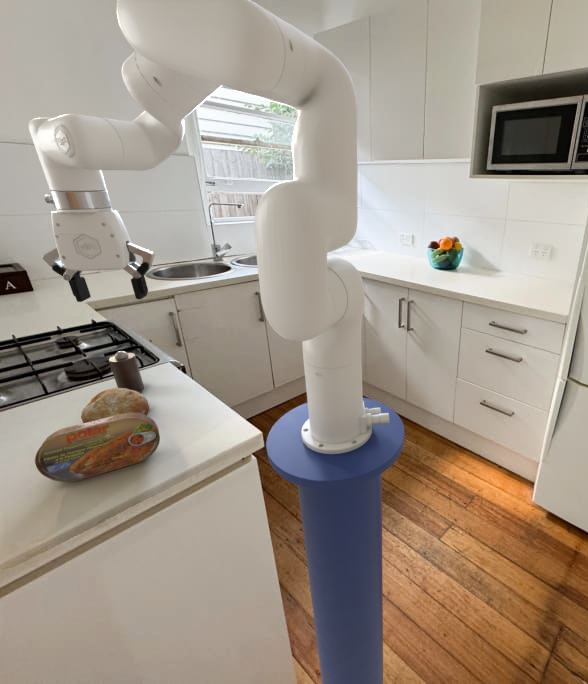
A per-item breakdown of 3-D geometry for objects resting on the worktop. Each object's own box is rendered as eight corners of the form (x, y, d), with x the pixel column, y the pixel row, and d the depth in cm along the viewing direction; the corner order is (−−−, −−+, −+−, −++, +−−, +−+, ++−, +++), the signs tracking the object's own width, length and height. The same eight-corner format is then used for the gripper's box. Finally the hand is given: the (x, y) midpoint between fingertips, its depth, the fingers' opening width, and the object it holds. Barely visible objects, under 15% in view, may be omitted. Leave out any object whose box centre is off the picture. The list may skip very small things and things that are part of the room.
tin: (46, 490, 56) (24, 444, 53) (50, 477, 59) (30, 432, 55) (165, 455, 64) (152, 413, 60) (164, 445, 66) (152, 404, 63)
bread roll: (100, 455, 68) (96, 428, 64) (70, 417, 71) (65, 389, 66) (158, 427, 76) (159, 402, 72) (129, 394, 79) (128, 368, 74)
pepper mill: (147, 384, 84) (136, 346, 80) (139, 395, 80) (127, 355, 77) (125, 386, 83) (113, 347, 80) (115, 396, 79) (102, 356, 76)
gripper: (6, 203, 60) (47, 307, 67) (129, 203, 63) (156, 302, 70) (39, 201, 67) (73, 295, 73) (148, 201, 70) (171, 291, 77)
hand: (113, 298), depth 72 cm, fingers open, 9 cm apart
